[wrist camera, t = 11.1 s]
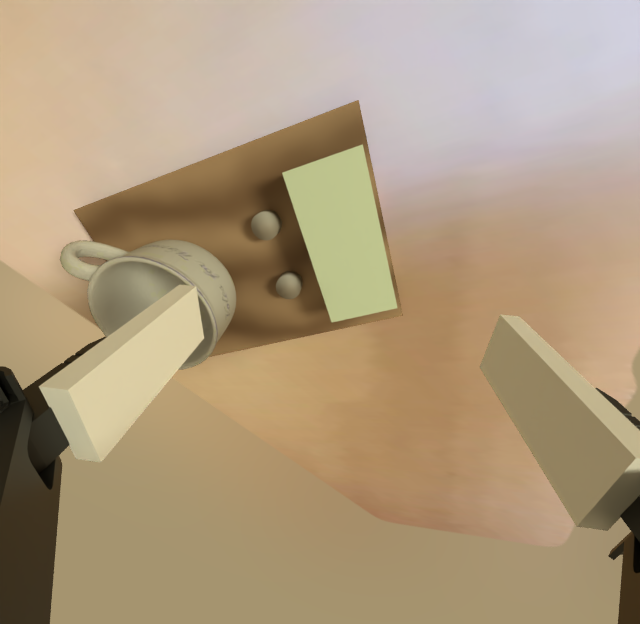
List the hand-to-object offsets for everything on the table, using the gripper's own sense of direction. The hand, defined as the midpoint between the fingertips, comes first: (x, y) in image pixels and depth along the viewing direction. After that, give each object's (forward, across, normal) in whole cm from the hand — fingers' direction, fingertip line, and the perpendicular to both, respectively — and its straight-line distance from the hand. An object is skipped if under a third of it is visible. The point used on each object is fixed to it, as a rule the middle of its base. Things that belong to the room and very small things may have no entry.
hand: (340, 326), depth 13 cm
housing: (+16, 0, 0) cm, 16 cm away
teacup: (+16, -16, -5) cm, 23 cm away
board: (+17, -10, -3) cm, 20 cm away
